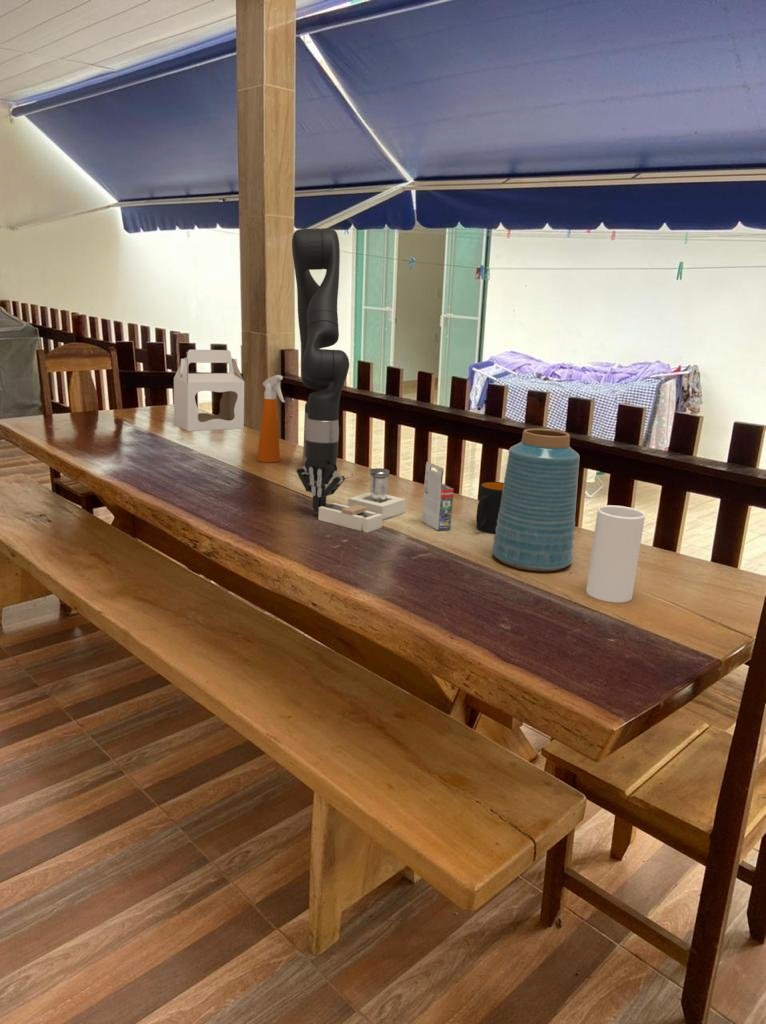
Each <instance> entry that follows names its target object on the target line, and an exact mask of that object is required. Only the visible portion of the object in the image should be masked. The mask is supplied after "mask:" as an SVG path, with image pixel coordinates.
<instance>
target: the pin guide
mask: <svg viewBox="0 0 766 1024" xmlns="http://www.w3.org/2000/svg"><path fill="white" fill-rule="evenodd" d="M330 504H331V505H333V506H335V507H339V508H343V509H342V511H339V510H335V509H331V508H327V507H323V506H321V507H319V512H318V519H317V520H318V521H322V522H325V523H330V524H334V525H336V526H340V527H344V528H348V529H351V530H352V529H353V530H356V531H360V532H361V531H362V532H364V533H366V534H367V533H370V532H373V531H375V530H379V529H381V528H383V521H382V519H383V515H382V514H376V513H374V512H370V511H367V507H365V506H361V505H353V506H348V505H345V504H340V503H337V502H332V503H330ZM359 513H363V514H367V515H366V518H365V517H363V516H359V515H356V514H359Z"/></svg>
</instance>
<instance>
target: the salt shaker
mask: <svg viewBox="0 0 766 1024" xmlns="http://www.w3.org/2000/svg"><path fill="white" fill-rule="evenodd" d="M369 475H370V491H369V492H370V501H373V502H378V503H382V502H386V501H387V495H388V483H389V482H388V477H390V470H389V469H386V468H382V467H381V468H380V467H379V468H371V469H370V470H369Z"/></svg>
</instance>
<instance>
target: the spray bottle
mask: <svg viewBox="0 0 766 1024" xmlns="http://www.w3.org/2000/svg"><path fill="white" fill-rule="evenodd" d="M283 378H284V377H283V376H282V375H281V374H275V375H272V376H270V377H269V378H267V379H265V380H264V381H263V382H262V385H263V387H264V388H265V391H264V392H263V393H264V394H263V405H262V414H261V421H260V422H261V424H260V429H259V430H260V431H259V439H258V447H257V456H256V460H257V461H258V462H260V463H267V464H268V463H269V464H272V463H279V462H280V461H281V454H280V450H281V449H280V437H279V436H280V435H279V422H278V420H279V419H278V406H277V396H278V398H279V400H280V401H281V402H282V403H286V400H285V399H284V396H283V392H282V390H281V389H282V388H281V383H282V381H283Z"/></svg>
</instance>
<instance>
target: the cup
mask: <svg viewBox="0 0 766 1024" xmlns="http://www.w3.org/2000/svg"><path fill="white" fill-rule="evenodd" d="M645 519H646V513H645V512H644V511H642V510H639V509H636V508H633V507H628V506H624V505H612V504H608V505H601V506H599V507H598V508H597V512H596V519H595V524H594V525H595V527H594V532H593V533H594V535H593V539H592V540H593V541H592V546H591V547H592V549H591V556H590V562H589V569H588V577H587V583H586V584H587V585H586V589H585V590H586V594H587V595H588V596H590V597H592V598H594V599H596V600H598V601H602V602H607V603H615V604H617V603H619V604H621V603H627V602H628V603H629V602H630V601H631V600H632V598H633V595H634V587H635V581H636V575H637V569H638V564H639V563H638V562H639V556H640V550H641V544H642V543H641V542H642V537H643V532H644V531H643V530H644V524H645Z"/></svg>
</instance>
